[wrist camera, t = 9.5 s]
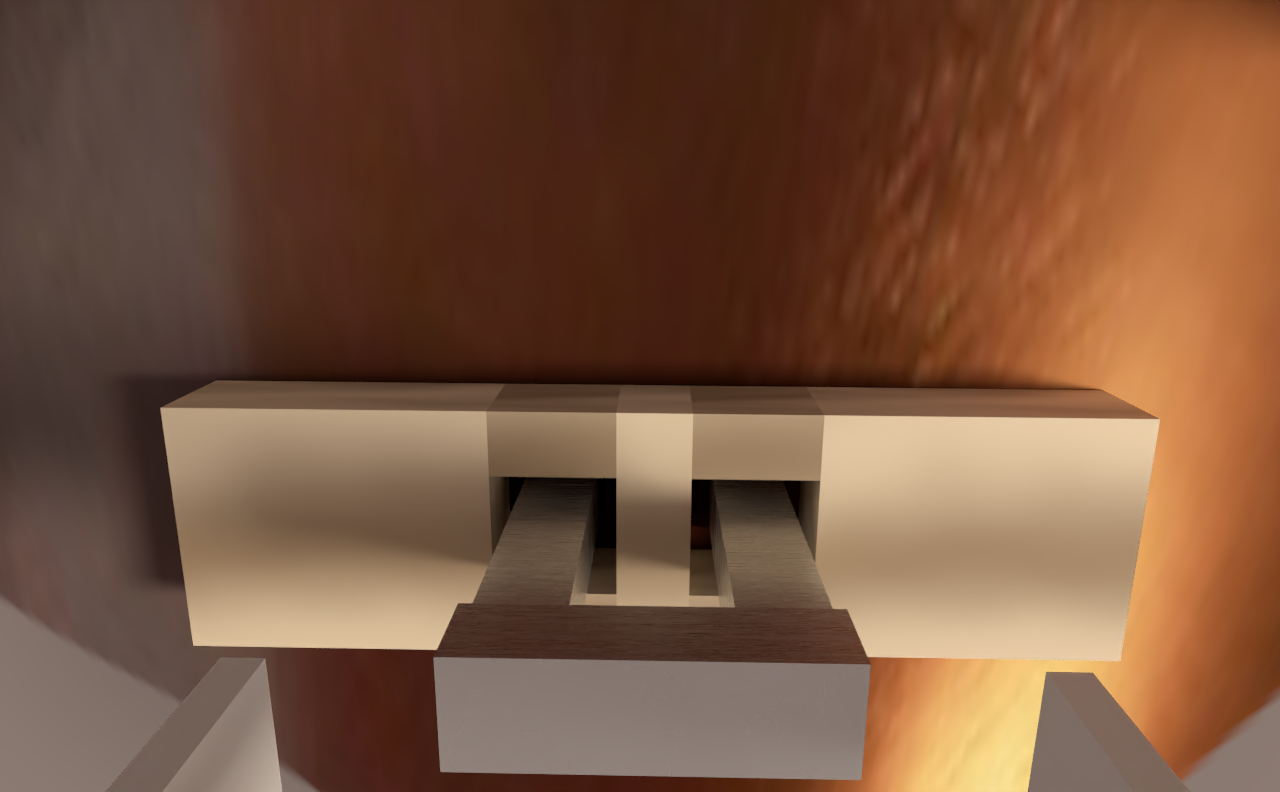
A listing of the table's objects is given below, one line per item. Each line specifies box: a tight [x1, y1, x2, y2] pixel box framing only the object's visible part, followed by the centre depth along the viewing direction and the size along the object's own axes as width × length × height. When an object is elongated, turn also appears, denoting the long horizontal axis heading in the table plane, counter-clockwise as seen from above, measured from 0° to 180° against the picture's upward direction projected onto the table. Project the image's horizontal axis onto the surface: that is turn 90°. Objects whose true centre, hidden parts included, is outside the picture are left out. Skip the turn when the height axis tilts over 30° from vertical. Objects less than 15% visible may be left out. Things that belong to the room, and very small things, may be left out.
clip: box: [434, 477, 871, 780], centre depth 21 cm, size 2×8×11 cm, turn 90°
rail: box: [160, 381, 1160, 661], centre depth 25 cm, size 7×26×3 cm, turn 90°
